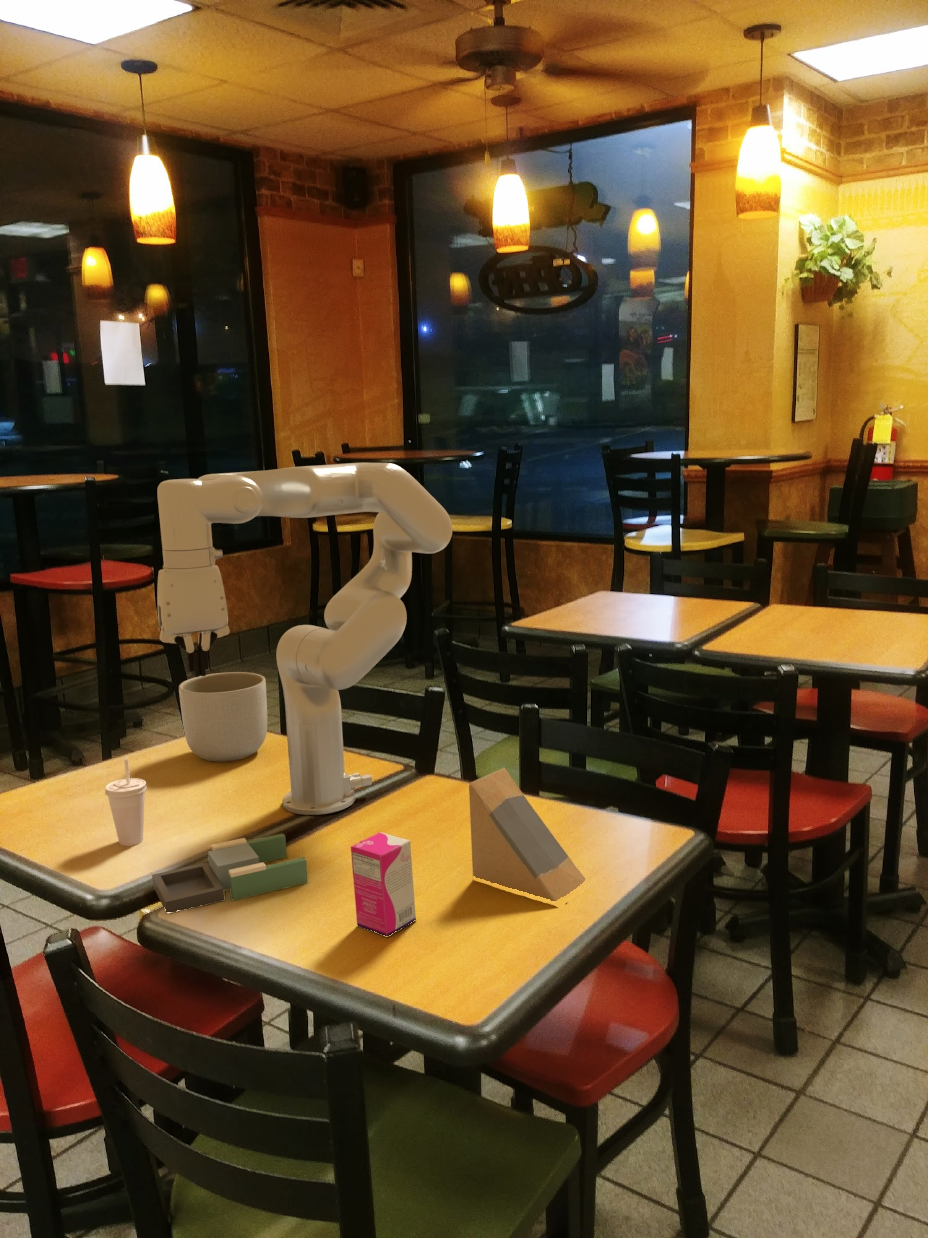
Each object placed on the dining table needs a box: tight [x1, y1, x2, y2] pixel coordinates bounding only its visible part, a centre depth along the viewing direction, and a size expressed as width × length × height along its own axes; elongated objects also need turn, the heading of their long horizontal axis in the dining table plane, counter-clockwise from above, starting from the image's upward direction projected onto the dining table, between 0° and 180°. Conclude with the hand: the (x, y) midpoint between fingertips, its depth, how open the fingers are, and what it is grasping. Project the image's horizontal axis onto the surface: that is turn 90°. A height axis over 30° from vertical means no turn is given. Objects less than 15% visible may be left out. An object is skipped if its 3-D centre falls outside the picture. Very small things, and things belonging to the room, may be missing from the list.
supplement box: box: [350, 832, 417, 936], centre depth 134 cm, size 6×6×12 cm
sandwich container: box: [468, 767, 587, 901], centre depth 144 cm, size 9×15×15 cm, turn 51°
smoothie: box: [104, 758, 147, 847], centre depth 164 cm, size 6×6×14 cm
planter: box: [178, 671, 268, 763], centre depth 207 cm, size 17×17×15 cm
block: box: [207, 843, 259, 891], centre depth 150 cm, size 6×6×4 cm
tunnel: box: [210, 833, 309, 901], centre depth 151 cm, size 11×12×4 cm
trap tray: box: [151, 862, 226, 913], centre depth 146 cm, size 8×10×2 cm
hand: (198, 674), depth 162 cm, fingers closed
